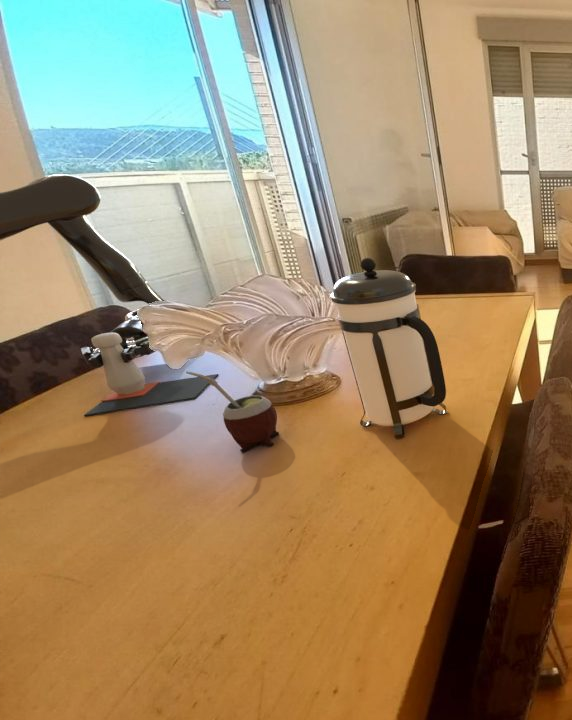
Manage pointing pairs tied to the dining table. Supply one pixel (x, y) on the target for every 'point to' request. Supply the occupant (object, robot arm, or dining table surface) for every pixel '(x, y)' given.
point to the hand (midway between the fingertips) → (110, 360)
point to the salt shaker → (118, 365)
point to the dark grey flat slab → (153, 395)
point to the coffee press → (389, 347)
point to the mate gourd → (248, 419)
